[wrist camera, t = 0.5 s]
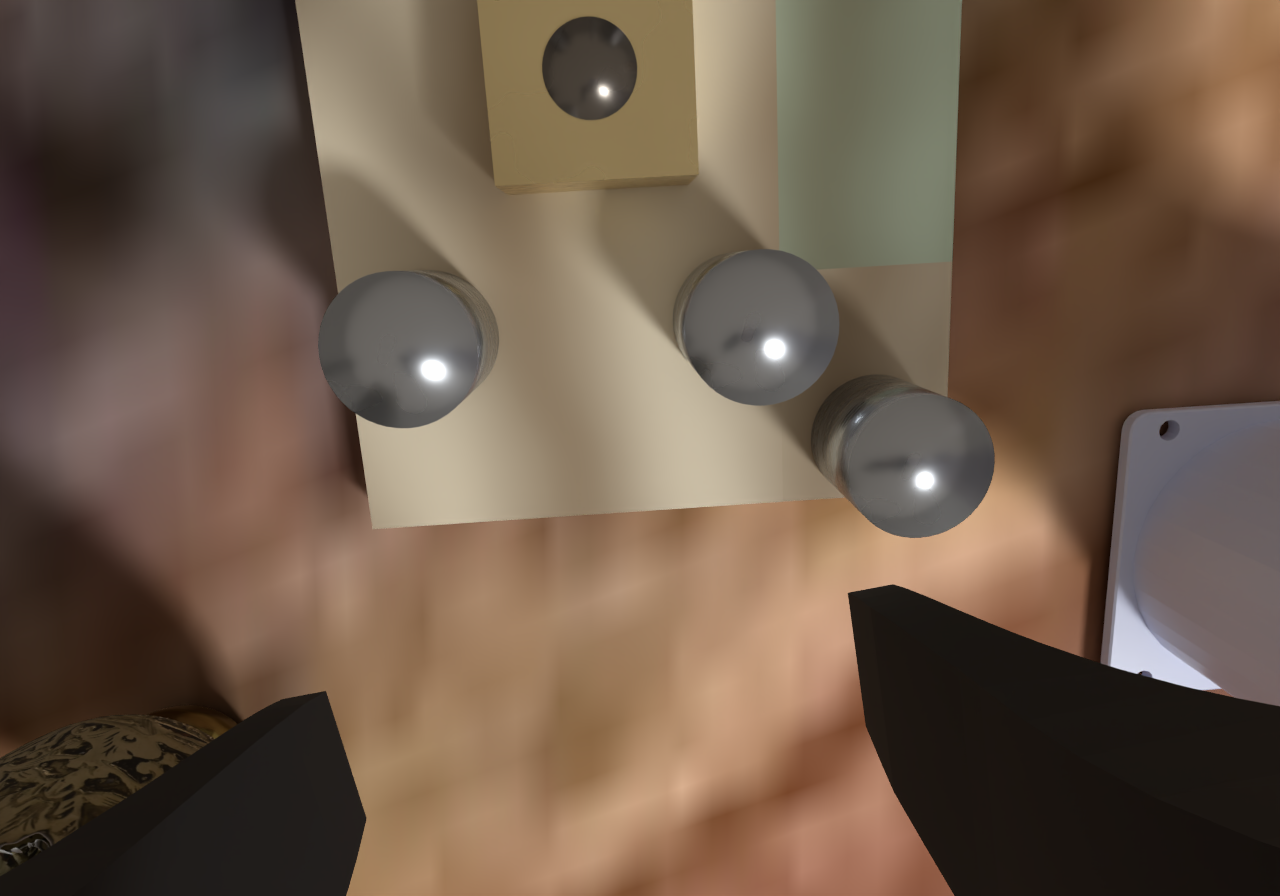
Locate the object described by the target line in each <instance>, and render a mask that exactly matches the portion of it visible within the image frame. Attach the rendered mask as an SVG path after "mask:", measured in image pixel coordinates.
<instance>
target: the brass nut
mask: <svg viewBox="0 0 1280 896" xmlns="http://www.w3.org/2000/svg"><path fill="white" fill-rule="evenodd" d="M477 6H478V16H479V26H480V37H481V47H482V57H483V68H484V78H485V88H486V99H487V109H488V120H489V130H490V140H491V151H492V161H493V171H494V182H495V186H496V187H497V188H499V189H500V190H501V191H503V192H504V193H506V194H507V195H519V194H537V193H554V192H572V191H590V190H607V189H625V188H642V187H660V186H678V185H689V184H690V183H691V182H692V181H693V180H694V179H695V178H696V177H697V176H698V175H699V162H698V136H697V109H696V82H695V56H694V29H693V2H692V0H477Z"/></svg>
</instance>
